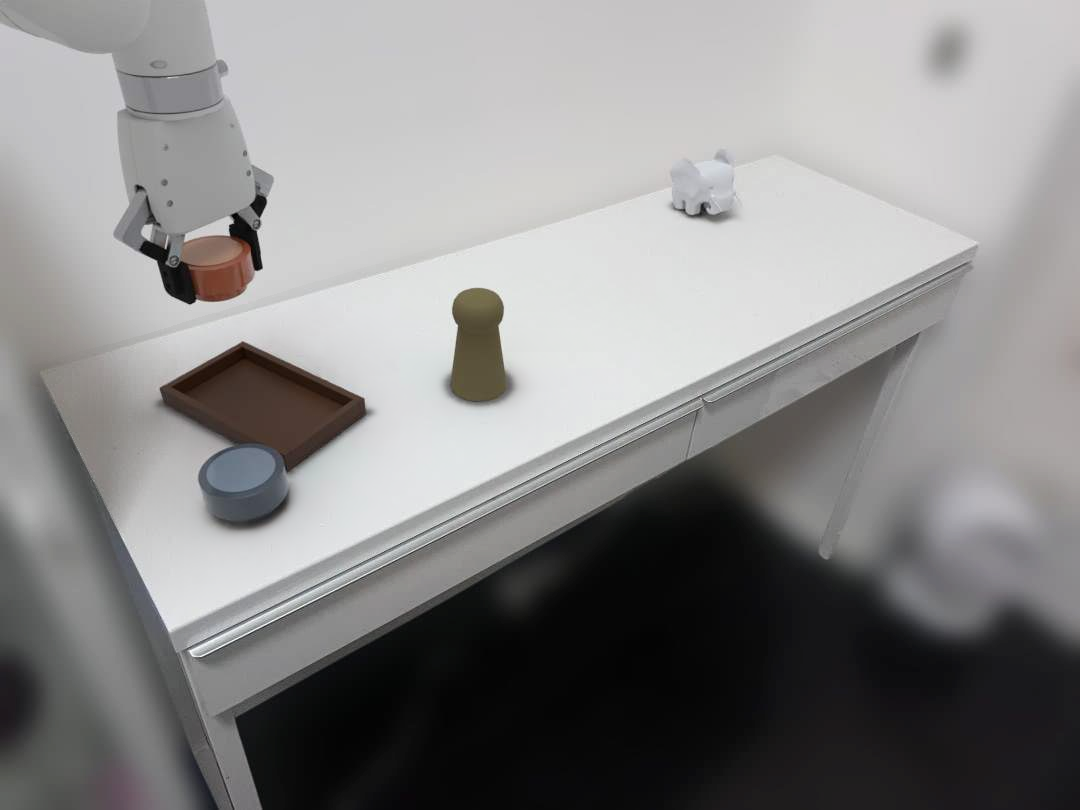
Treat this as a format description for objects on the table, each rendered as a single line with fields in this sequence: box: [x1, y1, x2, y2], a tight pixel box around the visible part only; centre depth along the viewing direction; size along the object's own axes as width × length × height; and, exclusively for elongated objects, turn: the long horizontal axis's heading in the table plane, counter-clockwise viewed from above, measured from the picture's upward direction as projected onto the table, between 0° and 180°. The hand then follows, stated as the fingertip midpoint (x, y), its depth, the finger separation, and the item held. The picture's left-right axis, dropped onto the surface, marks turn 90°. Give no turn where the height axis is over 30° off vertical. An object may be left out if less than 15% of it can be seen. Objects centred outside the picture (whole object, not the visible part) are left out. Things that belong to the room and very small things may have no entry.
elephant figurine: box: [669, 146, 743, 216], centre depth 122 cm, size 10×12×9 cm
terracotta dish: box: [180, 234, 256, 303], centre depth 75 cm, size 7×7×4 cm
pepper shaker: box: [449, 287, 507, 403], centre depth 83 cm, size 6×6×11 cm
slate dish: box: [197, 444, 289, 524], centre depth 70 cm, size 7×7×4 cm
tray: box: [158, 341, 367, 472], centre depth 81 cm, size 11×18×2 cm, turn 57°
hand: (217, 281), depth 76 cm, fingers closed on terracotta dish, 7 cm apart
